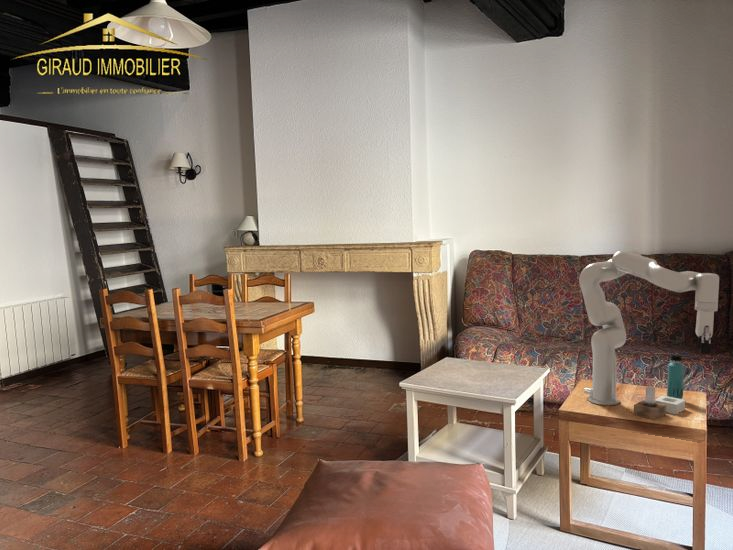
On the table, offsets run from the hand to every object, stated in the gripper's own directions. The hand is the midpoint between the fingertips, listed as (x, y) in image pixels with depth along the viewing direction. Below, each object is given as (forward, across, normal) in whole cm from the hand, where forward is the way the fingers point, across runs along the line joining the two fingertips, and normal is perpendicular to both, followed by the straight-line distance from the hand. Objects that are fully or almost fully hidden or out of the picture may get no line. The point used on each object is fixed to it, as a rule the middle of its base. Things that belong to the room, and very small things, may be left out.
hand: (703, 350), depth 232 cm
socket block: (+28, -4, -17) cm, 34 cm away
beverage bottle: (+29, -28, -7) cm, 41 cm away
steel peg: (+28, -4, -17) cm, 34 cm away
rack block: (+28, -14, -10) cm, 33 cm away
